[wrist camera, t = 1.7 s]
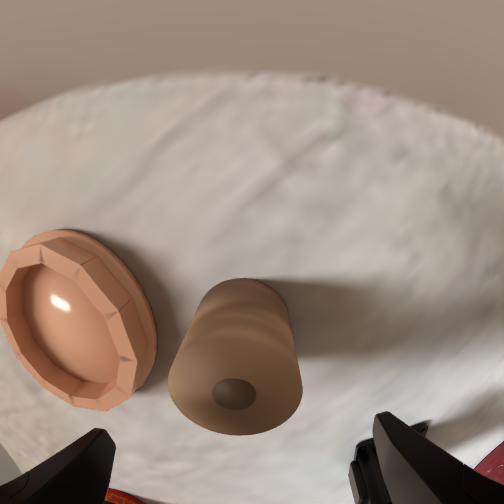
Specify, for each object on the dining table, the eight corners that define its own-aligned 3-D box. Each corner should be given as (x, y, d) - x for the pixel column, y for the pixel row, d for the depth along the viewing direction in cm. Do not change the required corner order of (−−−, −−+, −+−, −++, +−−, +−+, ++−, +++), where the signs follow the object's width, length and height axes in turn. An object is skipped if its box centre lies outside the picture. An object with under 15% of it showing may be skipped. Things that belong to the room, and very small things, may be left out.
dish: (127, 210, 14) (103, 216, 12) (181, 394, 17) (172, 421, 14) (0, 246, 15) (-24, 255, 12) (53, 385, 18) (38, 403, 15)
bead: (282, 271, 15) (296, 330, 9) (293, 352, 16) (306, 429, 10) (188, 284, 15) (149, 345, 9) (208, 362, 16) (188, 437, 10)
